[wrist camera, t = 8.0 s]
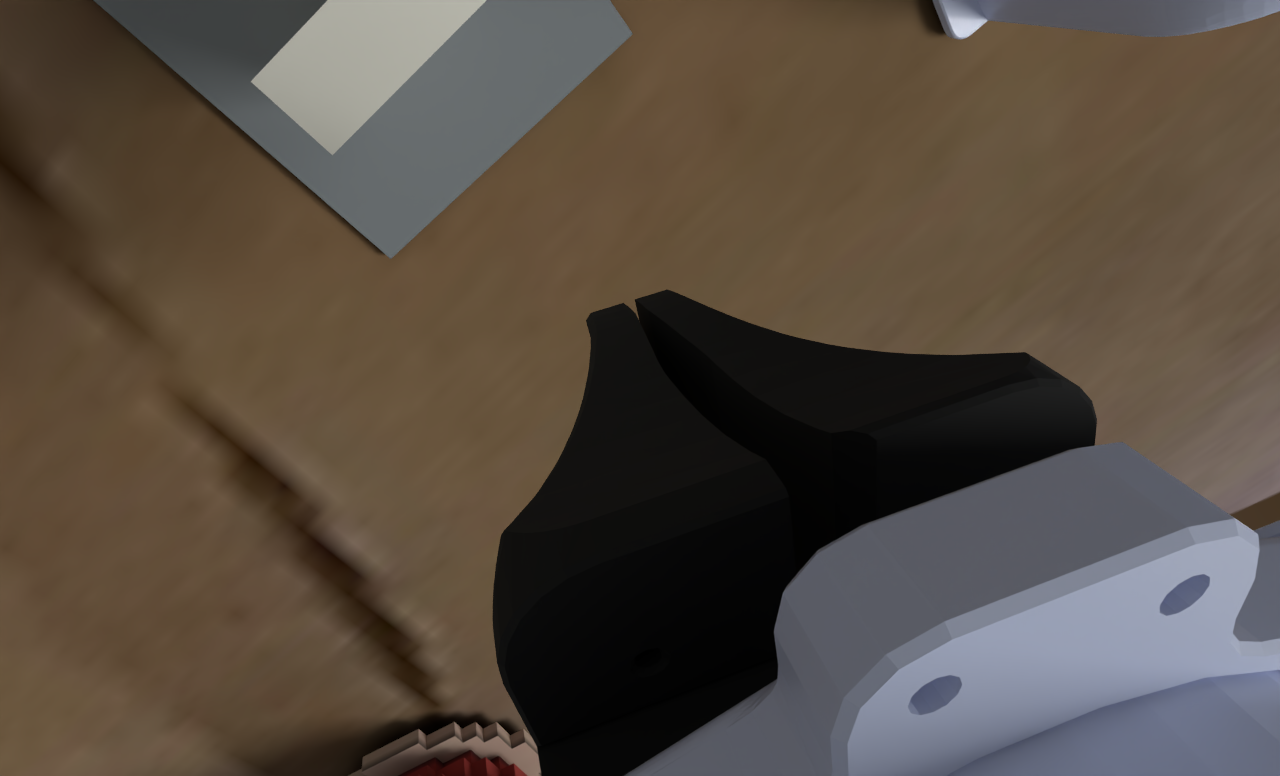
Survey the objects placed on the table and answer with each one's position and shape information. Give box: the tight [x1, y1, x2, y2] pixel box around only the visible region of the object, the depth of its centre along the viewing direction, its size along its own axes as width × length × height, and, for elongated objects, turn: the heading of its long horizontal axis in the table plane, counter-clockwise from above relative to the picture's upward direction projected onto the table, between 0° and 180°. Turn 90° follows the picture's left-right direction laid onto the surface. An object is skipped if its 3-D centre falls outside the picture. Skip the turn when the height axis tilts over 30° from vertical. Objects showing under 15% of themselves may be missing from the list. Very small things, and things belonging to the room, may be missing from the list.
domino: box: [251, 0, 486, 155], centre depth 14 cm, size 2×4×6 cm, turn 129°
